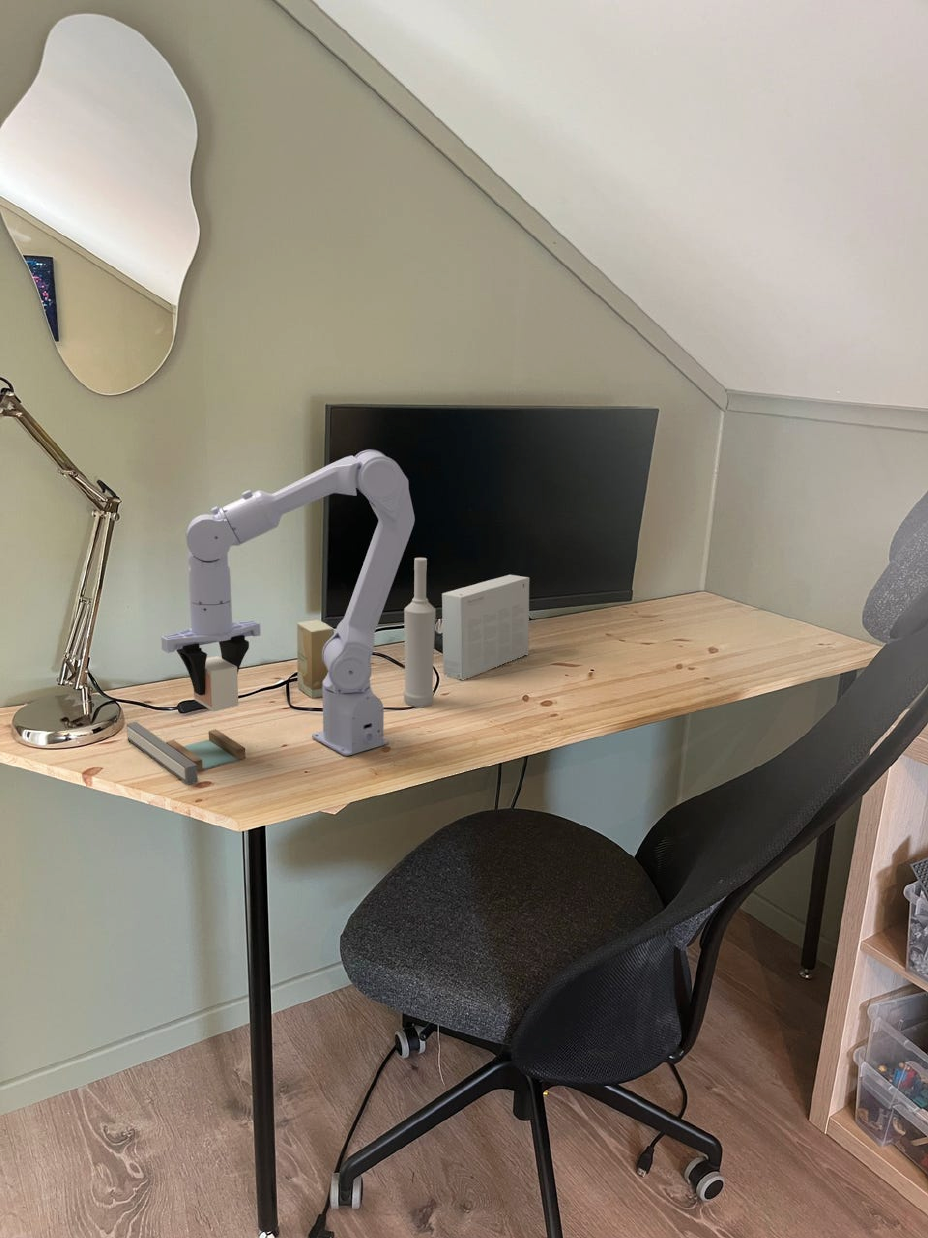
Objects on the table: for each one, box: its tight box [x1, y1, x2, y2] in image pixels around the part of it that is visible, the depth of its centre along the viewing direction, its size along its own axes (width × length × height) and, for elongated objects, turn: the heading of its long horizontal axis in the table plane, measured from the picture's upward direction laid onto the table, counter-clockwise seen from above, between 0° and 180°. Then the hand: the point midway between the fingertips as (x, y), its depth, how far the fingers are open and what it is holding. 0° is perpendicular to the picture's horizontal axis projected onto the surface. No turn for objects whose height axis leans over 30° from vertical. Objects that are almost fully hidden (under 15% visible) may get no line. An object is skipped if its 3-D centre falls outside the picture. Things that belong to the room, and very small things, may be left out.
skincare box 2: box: [441, 574, 530, 679], centre depth 184 cm, size 21×5×16 cm, turn 141°
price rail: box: [126, 721, 199, 785], centre depth 140 cm, size 20×2×2 cm, turn 41°
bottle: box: [403, 557, 436, 708], centre depth 162 cm, size 5×5×25 cm
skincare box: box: [296, 619, 335, 699], centre depth 168 cm, size 6×4×12 cm
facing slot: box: [165, 728, 246, 773], centre depth 142 cm, size 9×8×2 cm
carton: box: [193, 655, 239, 713], centre depth 141 cm, size 4×6×6 cm
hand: (214, 690), depth 141 cm, fingers closed on carton, 4 cm apart
